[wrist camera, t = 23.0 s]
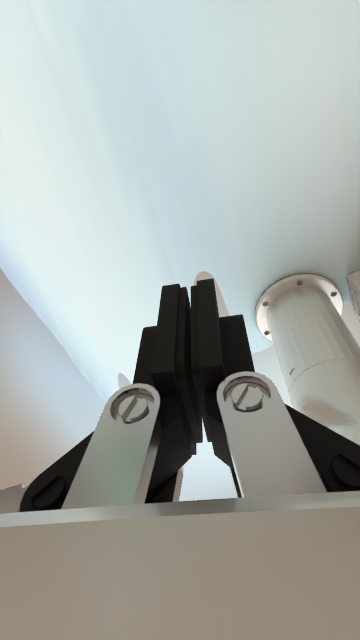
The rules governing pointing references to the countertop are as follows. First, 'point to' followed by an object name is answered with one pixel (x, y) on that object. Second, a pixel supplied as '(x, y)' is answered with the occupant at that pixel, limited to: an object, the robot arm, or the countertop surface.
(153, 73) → the countertop surface
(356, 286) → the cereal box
